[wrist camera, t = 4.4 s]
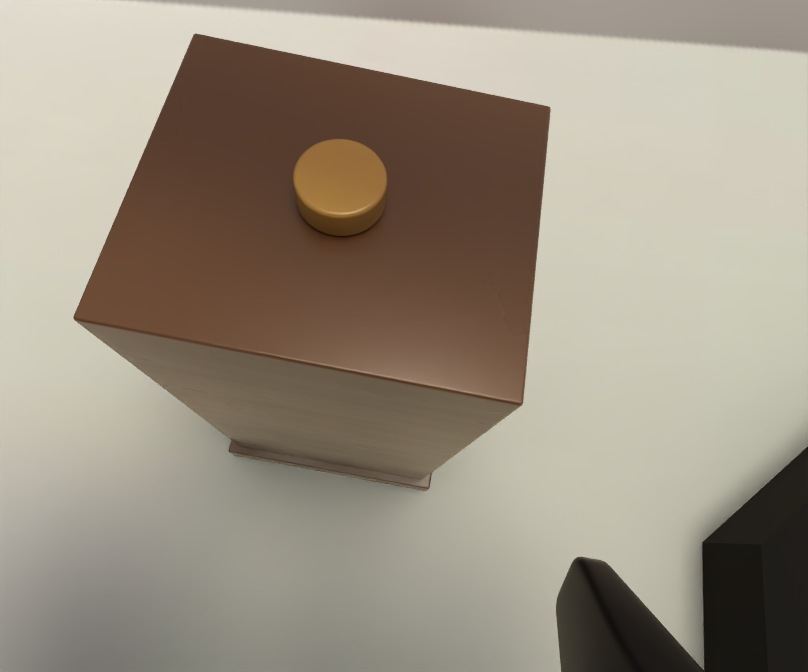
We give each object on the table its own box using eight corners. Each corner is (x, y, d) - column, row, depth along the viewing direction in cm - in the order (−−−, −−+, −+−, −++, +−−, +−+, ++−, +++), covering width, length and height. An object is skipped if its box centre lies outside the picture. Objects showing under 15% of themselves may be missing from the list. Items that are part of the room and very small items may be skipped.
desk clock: (426, 490, 19) (558, 418, 7) (233, 454, 19) (16, 314, 7) (450, 333, 21) (582, 65, 9) (276, 299, 21) (172, -21, 9)
